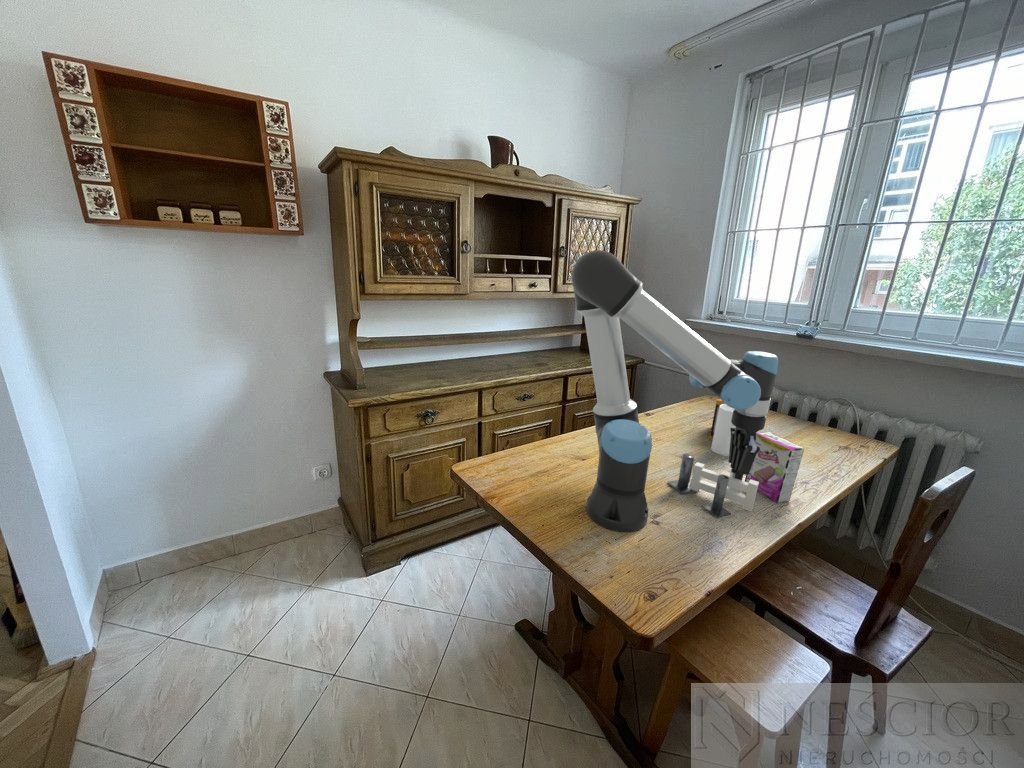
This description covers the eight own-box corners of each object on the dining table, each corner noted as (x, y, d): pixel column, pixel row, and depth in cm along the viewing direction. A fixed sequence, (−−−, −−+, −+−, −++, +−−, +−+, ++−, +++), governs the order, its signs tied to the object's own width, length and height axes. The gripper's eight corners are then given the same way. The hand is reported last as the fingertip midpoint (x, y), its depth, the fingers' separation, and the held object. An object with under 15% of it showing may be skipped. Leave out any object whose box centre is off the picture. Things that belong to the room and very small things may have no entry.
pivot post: (682, 494, 111) (688, 462, 109) (667, 483, 117) (672, 452, 114) (698, 491, 113) (705, 459, 111) (683, 480, 119) (689, 450, 116)
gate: (689, 488, 113) (693, 464, 111) (691, 485, 115) (696, 461, 112) (751, 511, 103) (757, 485, 101) (752, 507, 105) (759, 482, 103)
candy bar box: (742, 483, 119) (754, 432, 114) (755, 480, 120) (767, 430, 116) (777, 504, 109) (791, 449, 104) (790, 501, 110) (805, 447, 106)
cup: (740, 457, 135) (750, 413, 130) (714, 454, 136) (723, 411, 132) (732, 447, 143) (742, 405, 138) (708, 444, 144) (716, 403, 139)
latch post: (716, 518, 101) (724, 483, 98) (701, 507, 106) (708, 473, 103) (731, 515, 103) (739, 480, 100) (715, 504, 108) (722, 471, 105)
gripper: (725, 402, 109) (711, 478, 116) (744, 420, 97) (727, 504, 104) (754, 404, 108) (738, 481, 115) (777, 422, 96) (757, 507, 103)
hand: (733, 491), depth 110 cm, fingers closed
